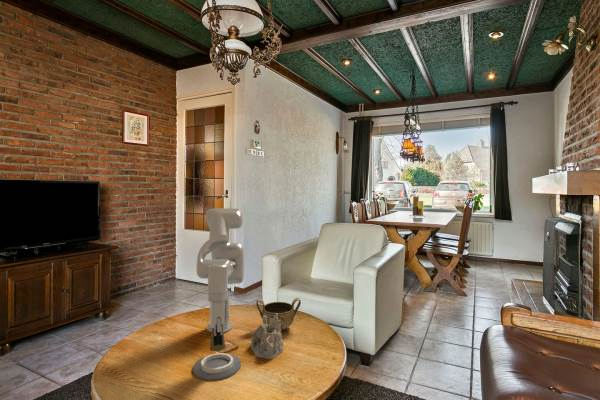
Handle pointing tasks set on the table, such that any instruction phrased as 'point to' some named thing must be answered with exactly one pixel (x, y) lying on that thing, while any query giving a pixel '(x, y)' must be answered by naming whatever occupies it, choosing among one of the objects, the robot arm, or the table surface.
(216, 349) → the cork
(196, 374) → the round tray
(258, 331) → the ceramic cottage
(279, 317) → the ceramic bowl
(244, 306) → the table surface
